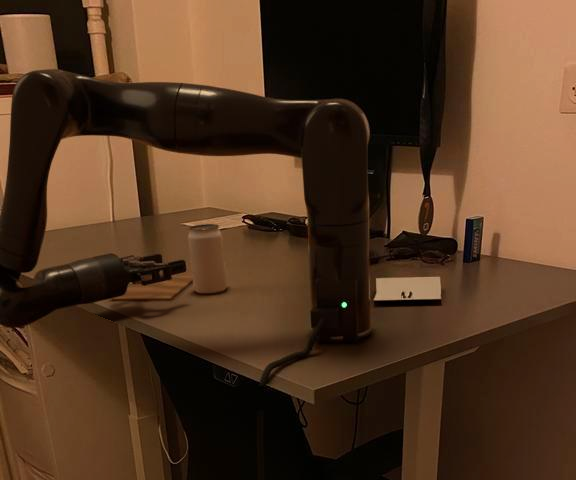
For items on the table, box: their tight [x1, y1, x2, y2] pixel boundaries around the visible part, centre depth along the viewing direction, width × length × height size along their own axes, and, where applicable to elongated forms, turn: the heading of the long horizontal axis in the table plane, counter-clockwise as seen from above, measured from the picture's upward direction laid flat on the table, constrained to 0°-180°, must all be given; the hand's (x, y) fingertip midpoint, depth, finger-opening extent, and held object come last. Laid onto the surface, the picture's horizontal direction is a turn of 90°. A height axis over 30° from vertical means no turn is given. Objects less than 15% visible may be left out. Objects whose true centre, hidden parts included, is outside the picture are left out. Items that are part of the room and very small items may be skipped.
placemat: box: [111, 274, 193, 302], centre depth 160 cm, size 18×12×1 cm, turn 169°
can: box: [187, 223, 228, 295], centre depth 153 cm, size 6×6×12 cm
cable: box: [369, 248, 420, 264], centre depth 169 cm, size 14×28×2 cm, turn 126°
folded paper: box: [373, 276, 442, 301], centre depth 143 cm, size 12×12×2 cm
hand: (172, 262), depth 149 cm, fingers open, 8 cm apart
